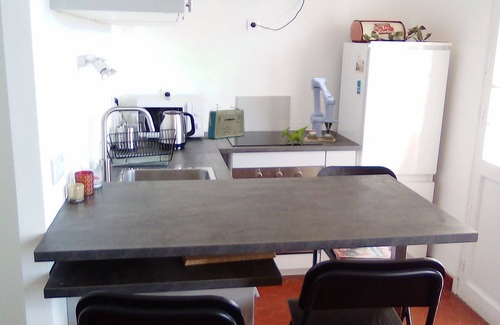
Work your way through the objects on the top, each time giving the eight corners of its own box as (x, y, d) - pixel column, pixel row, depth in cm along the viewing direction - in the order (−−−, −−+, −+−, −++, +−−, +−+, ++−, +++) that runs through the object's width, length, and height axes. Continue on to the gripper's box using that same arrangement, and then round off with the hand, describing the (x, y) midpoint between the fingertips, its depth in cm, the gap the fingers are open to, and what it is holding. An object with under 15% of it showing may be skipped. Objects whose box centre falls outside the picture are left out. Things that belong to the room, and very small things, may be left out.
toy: (285, 150, 337) (277, 132, 331) (309, 134, 342) (301, 116, 336) (291, 152, 329) (282, 134, 323) (315, 135, 335) (307, 117, 329)
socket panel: (305, 138, 359) (305, 133, 358) (335, 139, 355) (335, 135, 355) (304, 141, 347) (304, 136, 347) (335, 142, 344) (335, 137, 343)
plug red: (309, 135, 354) (309, 130, 353) (315, 135, 353) (315, 130, 352) (309, 136, 350) (309, 131, 349) (315, 136, 349) (315, 131, 348)
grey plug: (324, 137, 352) (324, 132, 352) (330, 137, 352) (331, 132, 351) (324, 138, 348) (324, 133, 347) (330, 138, 348) (331, 133, 347)
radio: (213, 139, 344) (213, 105, 339) (207, 138, 350) (207, 104, 345) (245, 136, 364) (245, 103, 358) (238, 134, 369) (239, 102, 364)
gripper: (318, 114, 343) (317, 133, 346) (339, 115, 341) (338, 134, 344) (318, 113, 350) (318, 131, 353) (339, 114, 348) (338, 132, 351)
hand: (327, 132), depth 349 cm, fingers closed, pressing on grey plug
